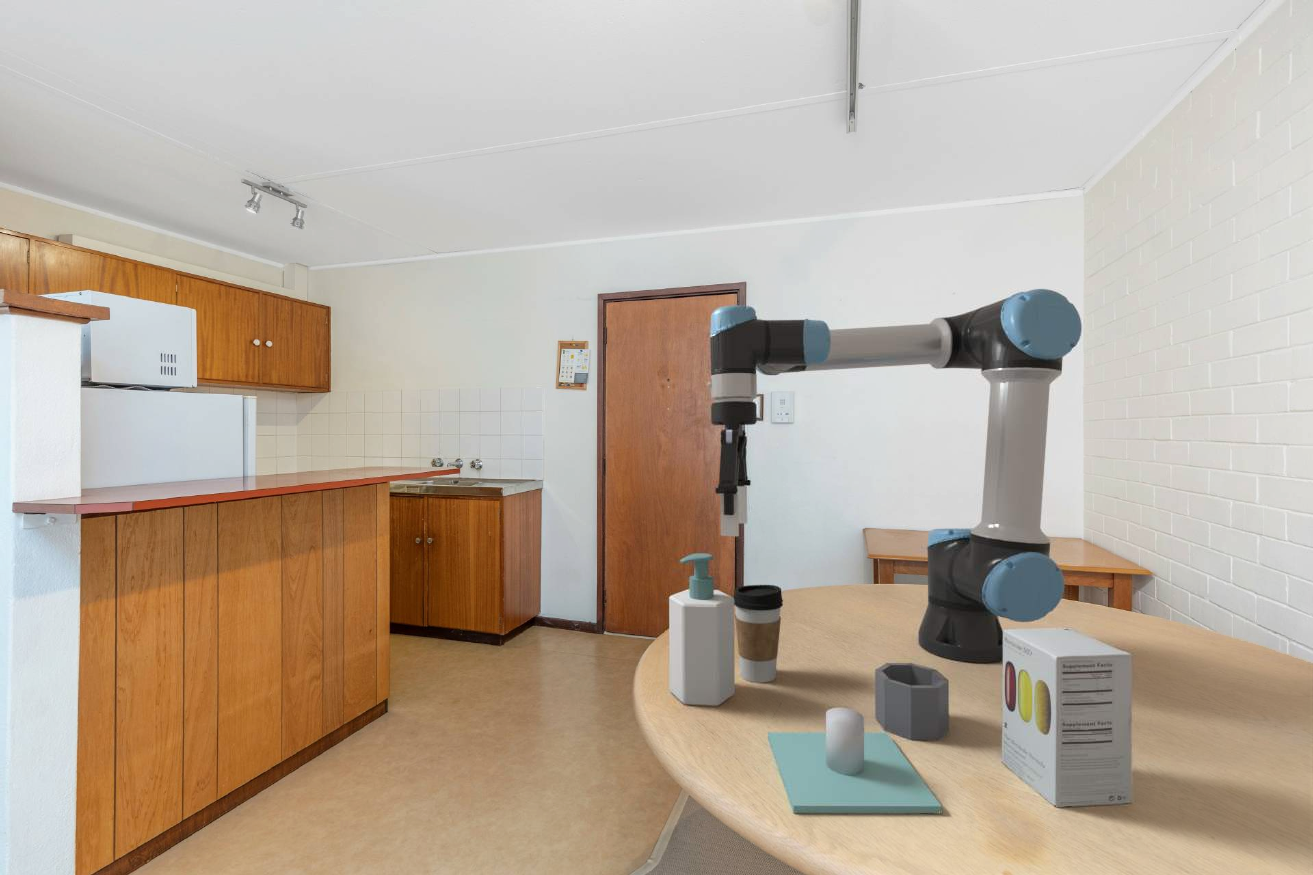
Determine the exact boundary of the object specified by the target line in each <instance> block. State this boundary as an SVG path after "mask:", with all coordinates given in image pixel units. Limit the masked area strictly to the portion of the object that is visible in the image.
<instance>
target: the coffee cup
mask: <svg viewBox="0 0 1313 875" xmlns="http://www.w3.org/2000/svg"><path fill="white" fill-rule="evenodd" d="M732 597H733V598H734V607H735V614H734V621H735V630H736V639H737V649H738V657H739V671H740V676H741V678H742V679H743V680H746V681H748V682H751V683H756V684H757V683H762V684H763V683H764V684H765V683H770V682H772V681H774V680H775V679H776V676H777V660H778V652H779V643H780V642H779V641H780V630H781V619H782V617H781V608H782V607H783V605H784V604H783V602H784V600H783V594H782V588H781V587H779V586H777V585H774V584H748V585H741V586H738V587H736V588H735V589H734V592H733V596H732Z"/></svg>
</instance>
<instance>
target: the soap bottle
mask: <svg viewBox="0 0 1313 875" xmlns="http://www.w3.org/2000/svg"><path fill="white" fill-rule="evenodd" d="M713 559H714V555H712V554H710V553H706V552H704V553H702V552H701V553H699V552H697V553H696V552H695V553H693V554H689V555H687V556H685V557H683V558H681V559H680V560H679V563H680V564H682V565H683V564H687V563H693V565H694V566H693V567H694V568H693V569H694V570H693V571H694V572H693V573H694V575H691V576H689V578H688V581H689V585H688V586H689V588H688V589H685V590H683V591H680V592H677V593H675V594H672V595H670V596H669V597H668V602H669V603H668V606H669V608H668V610H669V612H668V614H669V615H668V616H669V617H668V618H669V620H668V621H669V622H668V623H669V624H668V625H669V627H668V628H669V636H668V637H669V638H668V639H669V640H668V641H669V645H668V647H669V658H668V659H669V692H671V694H672V695H673V696H675V697H676V699H678V700H679V702H681V703H682V704H683V705H685V706H700V707H701V706H702V707H703V706H704V707H705V706H707V707H718V706H720V705H721V704H723V703H724V702H725V701H727V700H729V698H731V697H732V696H734V695H735V693H736V692H735V689H736V688H735V687H736V686H735V682H736V681H735V678H736V677H735V676H736V675H735V605H734V598H733V597H734V596H732V595H731V596H730V595H729V594H727V593H725V592H723V591H721V590H719V589H715V588H714V583H715V582H714V580H715V579H714V577H713V576H711V575H710V573H709V572H710V570H709V569H710V567H709V566H710V564H709V563H710V561H712V560H713Z"/></svg>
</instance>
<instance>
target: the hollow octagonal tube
mask: <svg viewBox="0 0 1313 875" xmlns="http://www.w3.org/2000/svg"><path fill="white" fill-rule="evenodd" d="M874 678H875V679H874V682H875V683H874V686H875V687H874V689H875V692H874V696H875V698H874V701H875V702H874V703H875V708H874V709H875V716H874V717H875V719H876V721H877V722H878V724H879V725H880V726H881V727H882V729H883V730H884V731H885V732H888V733H891V734H894V735H897V736H899V737H902V738H904V739H907V740H910V741H940V739H942V737H943V736H944V735H945V734H947V733H949V731H950V730H949V729H950V726H949V725H950V724H949V722H950V717H949V716H950V714H949V713H950V711H949V710H950V709H949V708H950V707H949V705H950V704H949V698H950V697H949V696H950V695H949V694H950V692H949V690H950V689H949V688H950V687H949V684H950V683H949V679H948V678H947V677H946V676H945V675H943V674H942V673H941V672H940V671H939V670H937V669H935V668H933V667H927V666H924V665H920V664H916V663H912V662H886V663H884V664H882V665H881V666H879V667H877V668H876V669H875V670H874Z"/></svg>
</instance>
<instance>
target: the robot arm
mask: <svg viewBox="0 0 1313 875" xmlns="http://www.w3.org/2000/svg"><path fill="white" fill-rule="evenodd" d="M756 313H757V312H756V309H755V308H754V307H752V306H749V305H748V306H747V305H742V304H741V305H740V304H737V305H735V304H732V305H725V306H721V307H718V308H716V309H715V310H713V312H712V313H711V316H710V336H709V341H710V342H709V343H710V345H709V346H710V350H709V351H710V353H709V354H710V377H711V381H708V382H707V383H706V385H707V387H708V388H711V389H710V393H711V394H710V396H711V399H712V400H713V401H714V402H712V403H711V404H710V422H711V424H712V425H713V426H724V429H721V432H720V462H719V475H718V476H719V478H718V485H717V487H715V494H717V495H718V494H719V495H720V496H719V497H720V536H721V537H739V536H740V529H739V528H740V526H739V525H740V524H746V525H747V524H748V495H747V494H748V487H749V486H751V484H752V483H751V482H752V481H751V479H749V477H748V469H747V465H748V464H747V443H748V438H747V435H746V430H743V426H751V425H756V424H757V421H758V420H757V419H758V418H757V416H758V415H757V412H758V411H757V410H758V409H757V403H756V402H754V400H755V399H757V397H758V395H757V394H758V392H757V391H758V389H757V388H758V386H757V385H758V383H757V382H758V381H757V372H759V373H760V374H762V375H765V376H778V375H780V374H789V373H800V372H815V371H816V372H817V371H830V370H831V371H833V370H849V369H863V368H864V369H865V368H881V367H882V368H883V367H899V366H902V367H903V366H914V365H915V366H916V365H917V366H918V365H930V366H931V367H932V368H934V369H937V370H938V369H939V370H940V369H969V370H970V369H974V370H975V369H976V370H981V371H980V374H981V375H982V377H983V378H985V379H986V381H987V382H989V400H988V402H989V403H988V417H987V430H986V431H987V432H986V446H985V457H984V458H985V460H984V461H985V462H984V474H983V489H982V491H983V492H982V503H981V504H982V507H981V517H980V518H981V519H980V522H979V523H978V524H977V525H975V526H974V528H936V529H935V528H933V529H932V530H931V531H929V534H928V536H927V537H928V538H927V544H926V550H927V606H926V609H925V612H924V615H923V617H922V621H921V623H920V626H919V629H918V636H917V637H918V640H917V641H918V645H919V646H920V647H921V648H922V649H923V650H925V651H927V652H929V653H931V654H932V655H933V654H934V655H937V656H938V657H941V658H945V659H950V660H956V661H961V662H967V663H968V662H969V663H994V662H1000V661H1003V630H1004V629H1003V628H1002V624H1001V622H1000V619H999V617H1000V618H1002V619H1003V618H1004V619H1006V620H1007V619H1008V620H1010V621H1012V622H1018V623H1031V622H1035V621H1038V620H1041V619H1043V618H1045V617H1046V616H1047V614H1049V613H1051V612H1053V611H1054V610H1055V609H1056V607H1058V606H1059V604H1060V602H1061V600H1062V598H1063V595H1064V591H1065V577H1064V574H1063V571H1062V570H1061V568H1059V566H1058V564H1057V563H1056V561H1055V560H1053V559H1052V558H1051V557H1050V554H1051V553H1050V551H1051V539H1050V538H1049V537H1048V536H1047V535H1046V534H1045V533H1044V532H1043V531H1042V529H1041V522H1042V520H1041V519H1042V506H1043V491H1044V478H1045V463H1046V462H1045V461H1046V449H1047V448H1046V446H1047V444H1046V443H1047V433H1048V432H1047V431H1048V417H1049V416H1048V415H1049V403H1050V402H1049V401H1050V389H1051V388H1050V386H1051V384H1052V383H1053V382H1054V381H1055V380H1056V379H1058V377H1060V376H1061V375H1062V372H1063V358H1064V357H1065V356H1066V355H1067V354H1069V353H1071V352H1072V350H1073V349H1074V348H1075V347H1076V346H1077V345H1078V343H1079V341H1080V338H1081V335H1082V320H1081V316H1080V313H1079V311H1078V310H1077V308H1076V307H1075V305H1074V303H1071V302H1070V301H1069V300H1068V298H1067V297H1066V296H1064V295H1063V294H1061V293H1060V292H1057V291H1056V290H1051V289H1047V288H1036V289H1035V288H1034V289H1032V290H1031V289H1030V290H1027V291H1020V292H1017V293H1014V294H1012V295H1010V296H1009V297H1006V298H1004V299H1001V300H998V301H996V302H993V303H990V304H988V305H985V306H981V307H979V308H976V309H974V310H970V311H967V312H965V313H961V314H958V315H954V316H946V317H936V318H934V319H933V320H931V321H930V323H925V324H908V325H907V324H906V325H905V324H904V325H903V324H902V325H890V326H887V325H886V326H875V327H873V326H872V327H869V326H868V327H856V328H838V329H837V328H836V329H830V328H829V325H828V324H827V323H826V322H825V321H824V320H820V319H819V320H818V319H808V318H805V319H771V320H770V319H766V320H765V319H760V318H759V319H758V316H757V314H756ZM747 486H748V487H747Z"/></svg>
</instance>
